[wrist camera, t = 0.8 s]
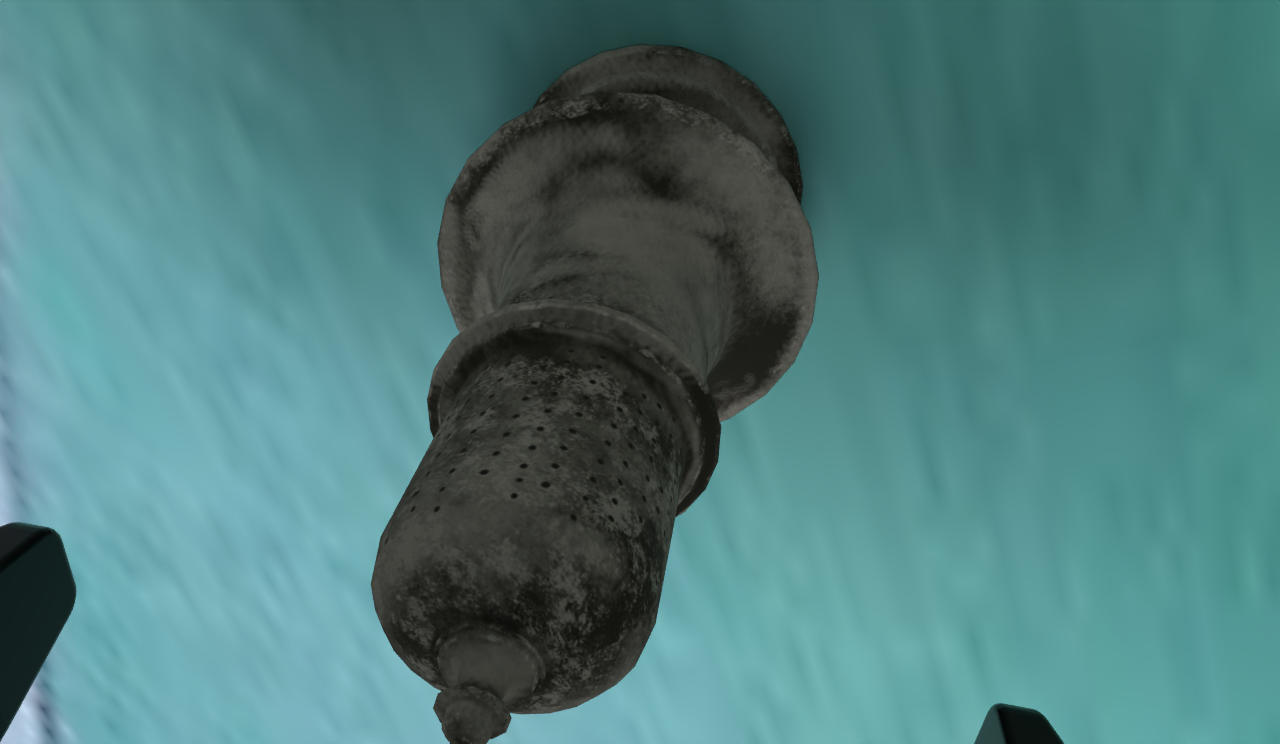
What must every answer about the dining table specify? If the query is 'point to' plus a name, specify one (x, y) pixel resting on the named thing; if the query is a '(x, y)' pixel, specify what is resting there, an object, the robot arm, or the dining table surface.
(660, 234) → the salt shaker
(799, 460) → the dining table surface
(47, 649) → the robot arm
